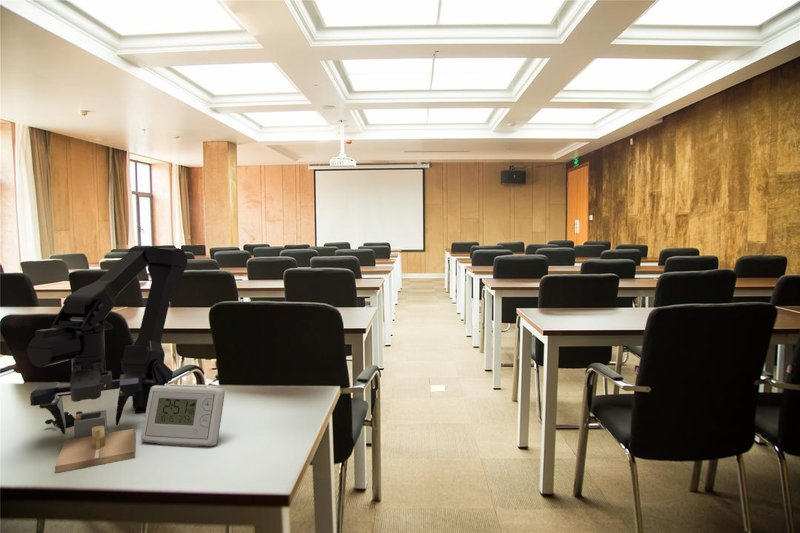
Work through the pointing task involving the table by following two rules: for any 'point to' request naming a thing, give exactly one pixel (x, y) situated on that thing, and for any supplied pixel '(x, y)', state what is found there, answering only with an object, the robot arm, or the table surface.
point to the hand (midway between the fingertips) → (91, 428)
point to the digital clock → (183, 415)
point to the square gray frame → (89, 423)
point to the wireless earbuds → (68, 419)
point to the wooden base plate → (96, 449)
